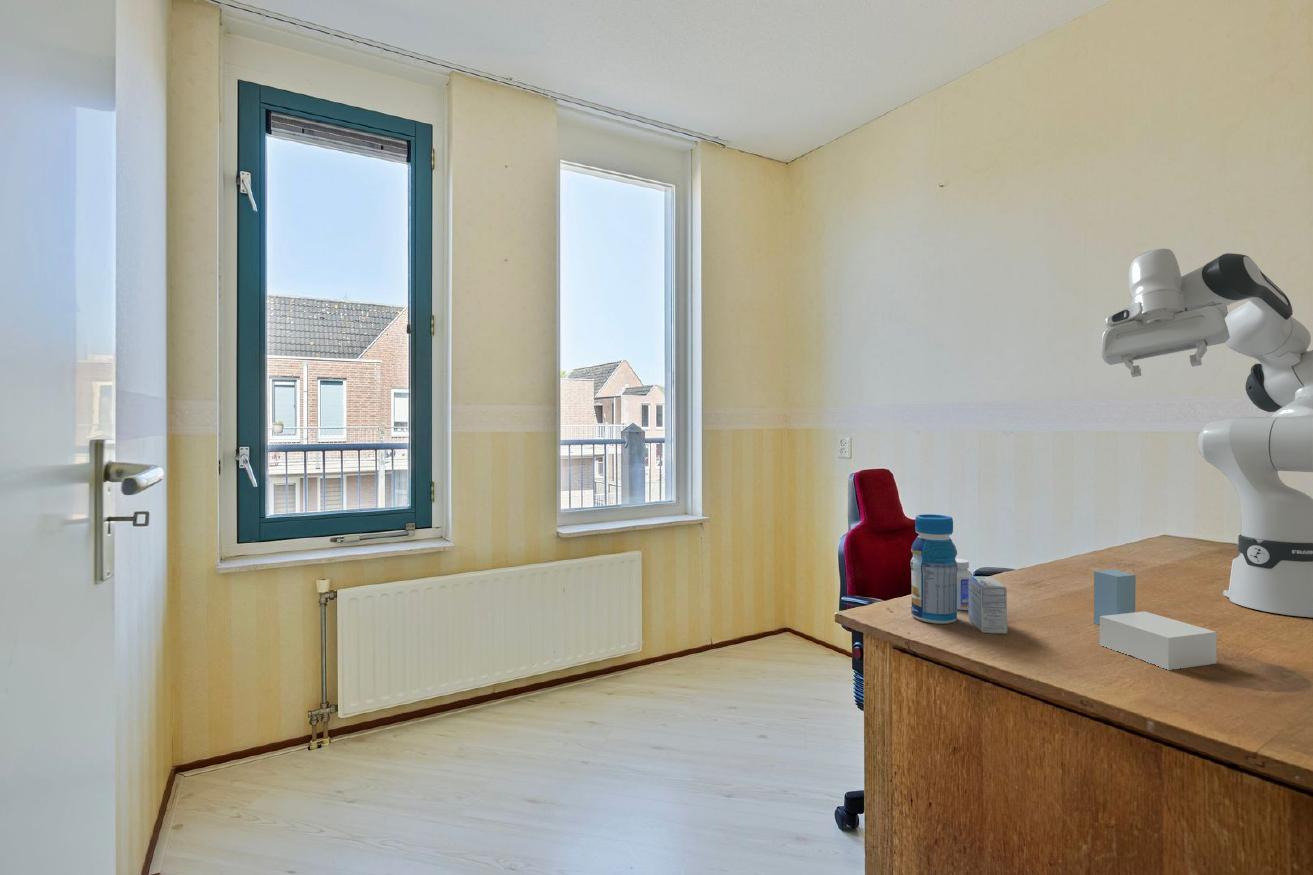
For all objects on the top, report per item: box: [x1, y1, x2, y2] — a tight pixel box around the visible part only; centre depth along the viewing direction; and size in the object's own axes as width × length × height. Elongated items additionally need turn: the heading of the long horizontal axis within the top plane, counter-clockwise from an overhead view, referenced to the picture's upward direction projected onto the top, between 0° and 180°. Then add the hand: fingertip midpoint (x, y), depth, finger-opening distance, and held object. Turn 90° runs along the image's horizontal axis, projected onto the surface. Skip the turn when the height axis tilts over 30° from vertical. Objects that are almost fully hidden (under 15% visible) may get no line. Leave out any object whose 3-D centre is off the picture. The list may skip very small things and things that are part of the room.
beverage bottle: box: [910, 513, 958, 625], centre depth 118 cm, size 8×8×20 cm
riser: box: [1099, 611, 1218, 671], centre depth 99 cm, size 10×11×5 cm
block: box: [1093, 569, 1137, 626], centre depth 113 cm, size 4×4×10 cm
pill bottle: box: [955, 557, 974, 611], centre depth 126 cm, size 5×5×10 cm
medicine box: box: [968, 575, 1008, 635], centre depth 113 cm, size 8×4×9 cm, turn 168°
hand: (1165, 370), depth 122 cm, fingers open, 8 cm apart
